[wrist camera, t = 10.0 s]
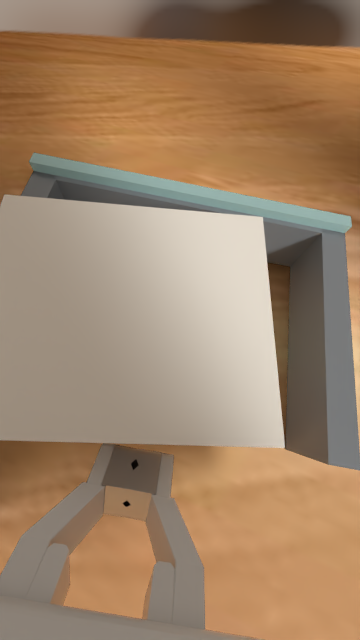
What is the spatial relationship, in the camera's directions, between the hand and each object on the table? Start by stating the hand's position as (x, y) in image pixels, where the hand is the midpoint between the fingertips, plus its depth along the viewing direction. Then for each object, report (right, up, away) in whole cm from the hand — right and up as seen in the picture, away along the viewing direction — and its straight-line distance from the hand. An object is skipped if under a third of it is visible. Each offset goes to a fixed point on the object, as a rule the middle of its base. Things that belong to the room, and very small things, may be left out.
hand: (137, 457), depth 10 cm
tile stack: (-1, +4, +6) cm, 7 cm away
